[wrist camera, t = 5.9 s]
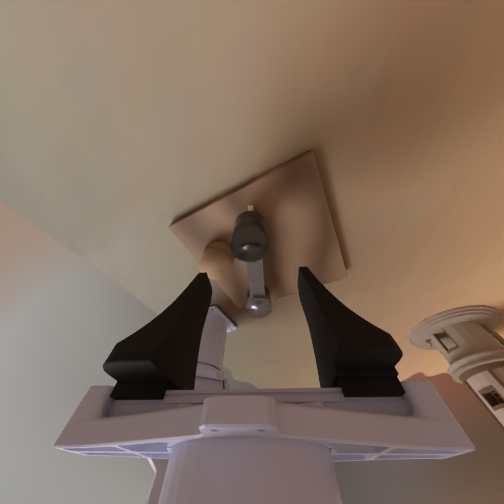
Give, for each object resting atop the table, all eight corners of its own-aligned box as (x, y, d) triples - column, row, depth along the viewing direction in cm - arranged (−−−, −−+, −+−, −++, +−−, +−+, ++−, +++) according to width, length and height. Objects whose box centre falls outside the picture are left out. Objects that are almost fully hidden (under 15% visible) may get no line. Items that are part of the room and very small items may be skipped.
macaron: (215, 268, 26) (210, 283, 23) (198, 247, 24) (191, 262, 21) (239, 258, 25) (237, 273, 22) (223, 236, 22) (220, 250, 20)
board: (240, 304, 32) (239, 310, 31) (171, 222, 23) (167, 227, 22) (344, 271, 27) (347, 277, 26) (310, 149, 18) (314, 151, 17)
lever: (270, 300, 29) (273, 339, 24) (248, 301, 29) (246, 340, 24) (266, 200, 19) (270, 229, 14) (233, 203, 19) (224, 232, 14)
